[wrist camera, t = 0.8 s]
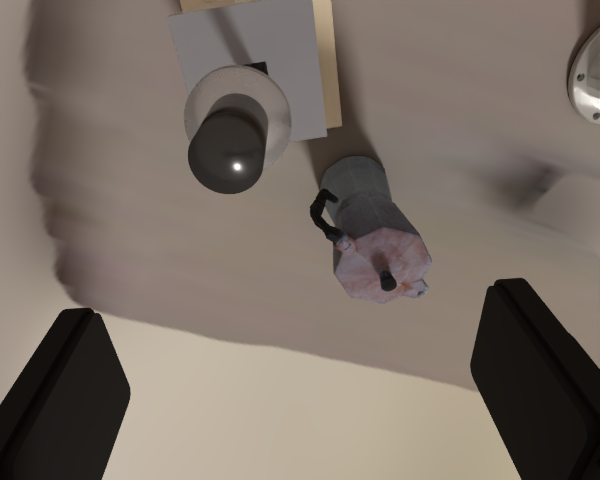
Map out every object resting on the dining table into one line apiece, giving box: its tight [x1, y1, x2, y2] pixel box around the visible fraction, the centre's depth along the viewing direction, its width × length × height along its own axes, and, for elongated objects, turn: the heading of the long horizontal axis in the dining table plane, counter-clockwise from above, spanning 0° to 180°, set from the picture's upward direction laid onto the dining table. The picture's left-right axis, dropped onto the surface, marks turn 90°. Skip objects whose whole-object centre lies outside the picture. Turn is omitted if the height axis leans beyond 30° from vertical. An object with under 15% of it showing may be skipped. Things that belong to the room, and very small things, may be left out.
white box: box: [167, 0, 342, 142], centre depth 39 cm, size 15×19×18 cm
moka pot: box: [310, 156, 432, 303], centre depth 47 cm, size 10×15×20 cm, turn 56°
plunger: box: [184, 61, 292, 194], centre depth 28 cm, size 8×8×23 cm
